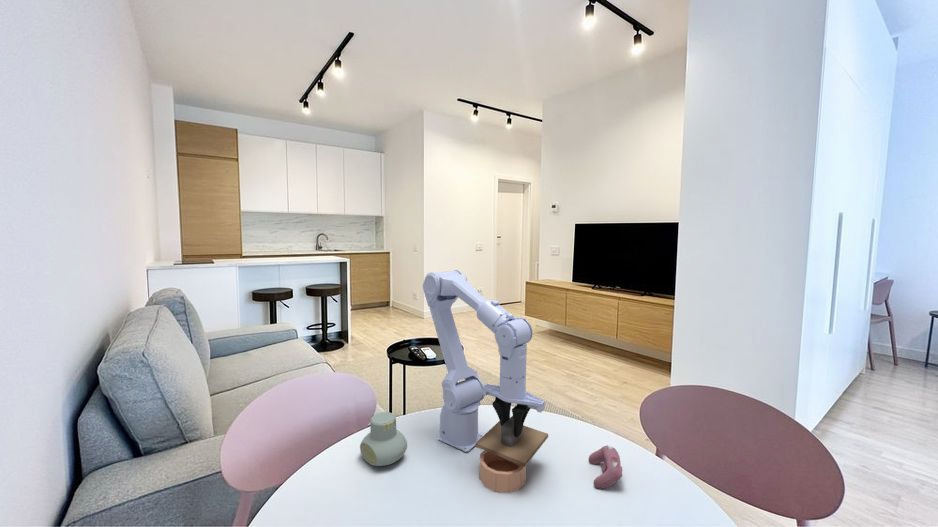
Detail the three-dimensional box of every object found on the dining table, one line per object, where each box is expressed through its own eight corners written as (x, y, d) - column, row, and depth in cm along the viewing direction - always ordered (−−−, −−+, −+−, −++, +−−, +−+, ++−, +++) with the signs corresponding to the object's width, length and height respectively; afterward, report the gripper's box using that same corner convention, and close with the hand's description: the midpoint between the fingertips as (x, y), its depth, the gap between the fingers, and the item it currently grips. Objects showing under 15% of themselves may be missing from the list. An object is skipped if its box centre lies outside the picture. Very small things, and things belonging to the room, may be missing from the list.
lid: (475, 446, 81) (475, 426, 80) (502, 421, 91) (502, 402, 90) (524, 466, 74) (524, 444, 74) (548, 437, 84) (548, 417, 83)
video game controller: (612, 499, 76) (629, 472, 75) (592, 487, 77) (609, 460, 76) (604, 468, 86) (619, 445, 85) (586, 458, 87) (601, 434, 85)
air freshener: (356, 455, 88) (355, 415, 87) (385, 441, 94) (385, 403, 93) (381, 477, 80) (381, 433, 79) (412, 460, 86) (411, 419, 85)
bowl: (470, 479, 80) (471, 462, 79) (494, 456, 88) (495, 440, 87) (511, 499, 74) (511, 480, 73) (533, 472, 82) (533, 455, 82)
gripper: (551, 375, 80) (549, 435, 81) (493, 361, 88) (492, 415, 89) (537, 387, 74) (536, 450, 75) (477, 370, 82) (477, 428, 84)
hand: (511, 432), depth 82 cm, fingers closed on lid, 2 cm apart
